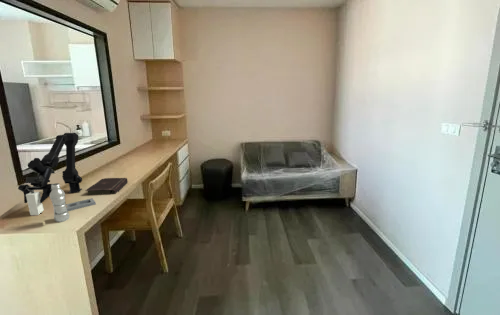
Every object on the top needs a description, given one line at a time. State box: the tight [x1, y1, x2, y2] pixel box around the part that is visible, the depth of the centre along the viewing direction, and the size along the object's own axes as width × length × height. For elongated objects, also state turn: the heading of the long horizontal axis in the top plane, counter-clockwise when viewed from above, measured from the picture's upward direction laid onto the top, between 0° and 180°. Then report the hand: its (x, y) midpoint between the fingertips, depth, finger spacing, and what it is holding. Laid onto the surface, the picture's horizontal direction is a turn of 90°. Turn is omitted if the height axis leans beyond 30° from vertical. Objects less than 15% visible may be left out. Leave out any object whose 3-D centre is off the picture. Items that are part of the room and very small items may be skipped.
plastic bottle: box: [49, 182, 70, 223], centre depth 138 cm, size 6×7×20 cm
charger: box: [26, 190, 45, 216], centre depth 148 cm, size 4×4×14 cm
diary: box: [84, 177, 129, 196], centre depth 185 cm, size 19×25×5 cm
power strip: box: [66, 198, 97, 212], centre depth 156 cm, size 16×8×3 cm, turn 131°
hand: (32, 202), depth 147 cm, fingers open, 8 cm apart
